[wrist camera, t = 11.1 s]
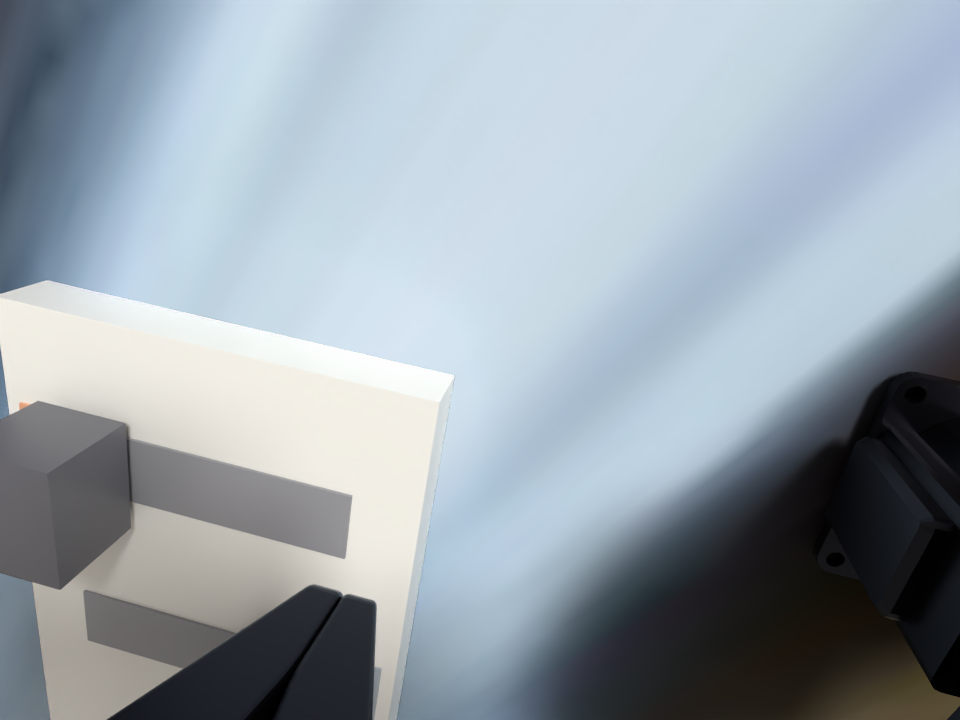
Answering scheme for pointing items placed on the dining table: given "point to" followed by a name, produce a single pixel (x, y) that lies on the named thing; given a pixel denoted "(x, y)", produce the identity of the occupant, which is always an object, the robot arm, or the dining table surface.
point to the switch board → (225, 485)
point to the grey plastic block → (60, 491)
